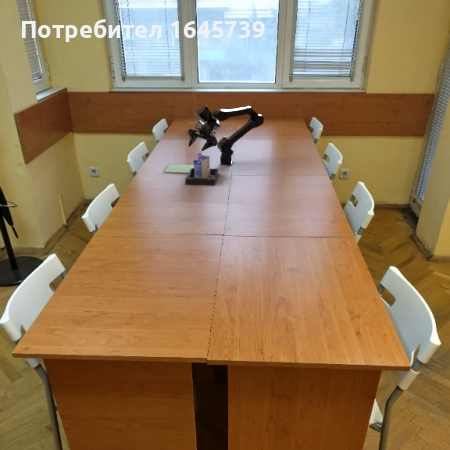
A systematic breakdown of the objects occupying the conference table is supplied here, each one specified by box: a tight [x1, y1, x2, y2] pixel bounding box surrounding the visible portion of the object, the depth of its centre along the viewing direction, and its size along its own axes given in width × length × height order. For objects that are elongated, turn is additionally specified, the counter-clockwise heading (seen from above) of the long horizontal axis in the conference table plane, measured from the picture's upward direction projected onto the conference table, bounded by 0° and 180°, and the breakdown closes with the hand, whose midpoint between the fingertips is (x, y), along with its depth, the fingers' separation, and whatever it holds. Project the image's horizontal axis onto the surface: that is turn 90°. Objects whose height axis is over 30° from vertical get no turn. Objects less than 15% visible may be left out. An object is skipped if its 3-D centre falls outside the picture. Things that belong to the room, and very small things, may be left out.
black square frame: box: [185, 168, 219, 186], centre depth 254 cm, size 16×18×4 cm
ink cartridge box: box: [192, 152, 211, 179], centre depth 251 cm, size 10×6×14 cm, turn 155°
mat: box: [163, 164, 194, 174], centre depth 270 cm, size 20×14×1 cm
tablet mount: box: [194, 119, 222, 135], centre depth 346 cm, size 27×14×17 cm
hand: (195, 148), depth 259 cm, fingers open, 9 cm apart
